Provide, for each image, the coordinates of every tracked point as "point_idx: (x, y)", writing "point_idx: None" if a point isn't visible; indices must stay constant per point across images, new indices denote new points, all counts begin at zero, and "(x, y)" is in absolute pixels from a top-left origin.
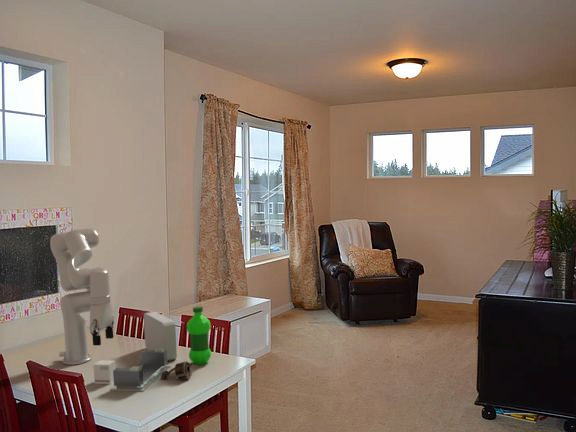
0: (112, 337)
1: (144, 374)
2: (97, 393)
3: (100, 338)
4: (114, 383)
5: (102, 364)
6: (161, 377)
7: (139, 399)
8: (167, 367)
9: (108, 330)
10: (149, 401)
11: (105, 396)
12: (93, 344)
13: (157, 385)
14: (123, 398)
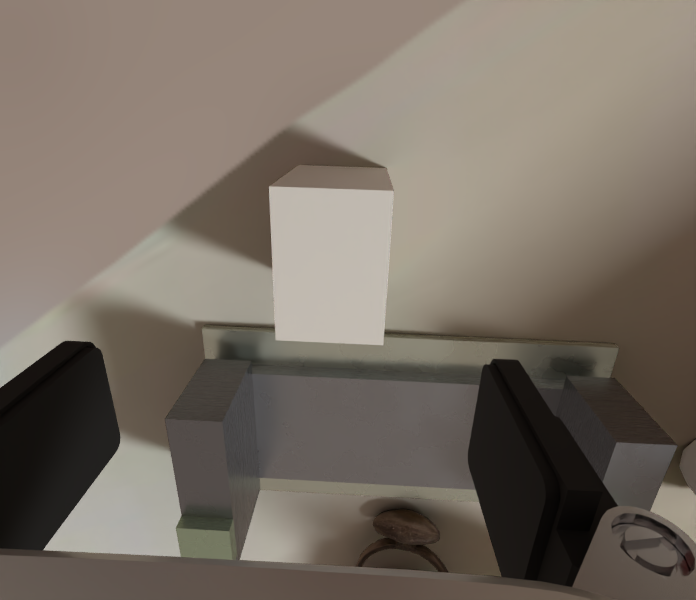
0: (474, 470)
1: (393, 450)
2: (149, 272)
3: (42, 535)
4: (200, 369)
5: (276, 278)
6: (380, 517)
7: (136, 494)
8: None
9: (520, 533)
10: (129, 533)
11: (123, 337)
12: (64, 349)
13: (304, 511)
14: (127, 430)
